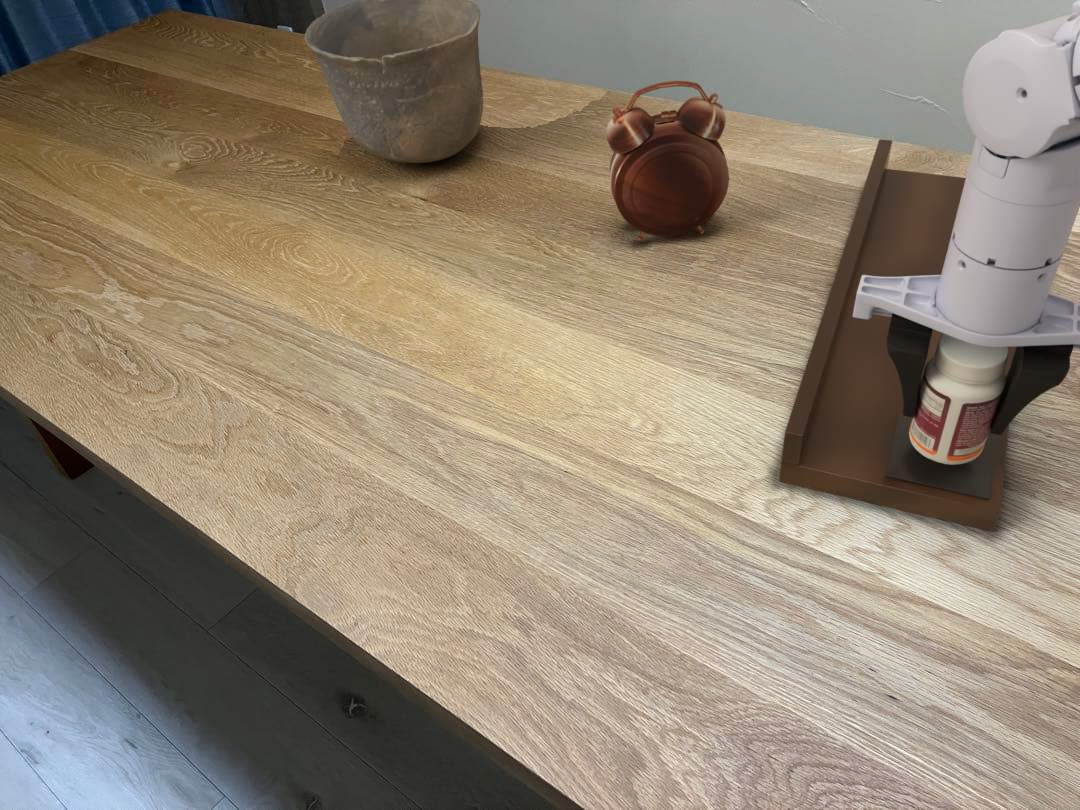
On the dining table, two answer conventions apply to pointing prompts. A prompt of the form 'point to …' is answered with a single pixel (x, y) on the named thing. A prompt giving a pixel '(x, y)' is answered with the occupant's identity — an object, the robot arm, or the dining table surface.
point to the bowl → (403, 74)
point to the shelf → (884, 368)
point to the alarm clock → (668, 163)
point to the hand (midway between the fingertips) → (953, 415)
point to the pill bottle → (958, 400)
